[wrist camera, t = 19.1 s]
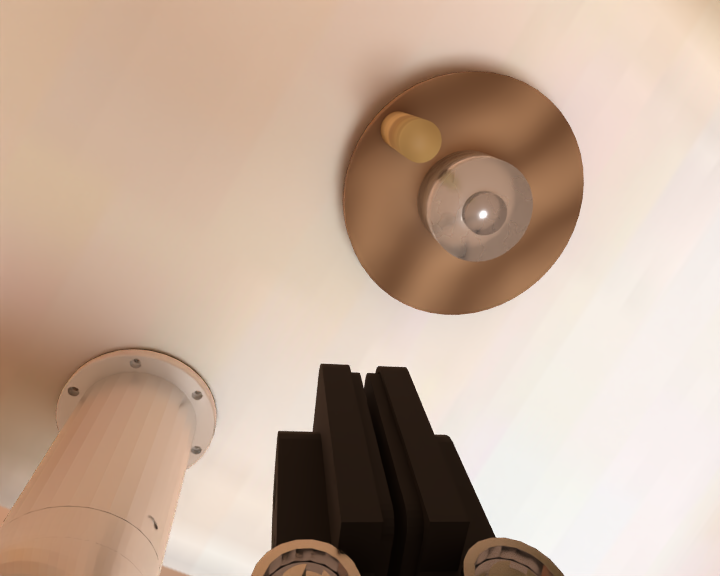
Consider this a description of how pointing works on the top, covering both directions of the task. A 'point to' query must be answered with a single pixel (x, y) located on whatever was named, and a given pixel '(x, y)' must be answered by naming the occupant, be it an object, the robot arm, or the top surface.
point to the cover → (475, 205)
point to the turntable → (430, 144)
